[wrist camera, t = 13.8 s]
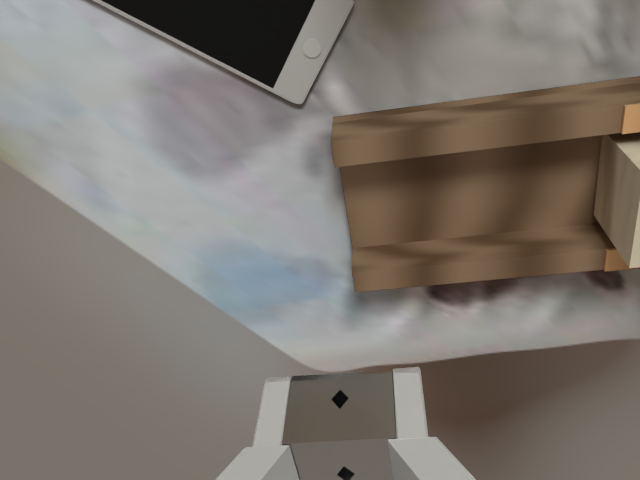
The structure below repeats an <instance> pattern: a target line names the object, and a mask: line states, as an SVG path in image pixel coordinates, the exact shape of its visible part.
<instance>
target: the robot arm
mask: <svg viewBox="0 0 640 480" xmlns="http://www.w3.org/2000/svg"><path fill="white" fill-rule="evenodd" d="M215 480H476V479H475V478H474V477H473V476H472V475H471V474H470V473H469V472H468V471H467V469H466V468H465V467H464V466H463V465H462V464H461V463H460V462H459V461H458V460H457V459H456V458H455V457H454V456H453V454H452V453H451V452H450V451H449V450H448V449H447V448H446V447H445V446H444V445H443V444H442V442H441V441H440V440H439V439H438V438H437V437H428V431H427V422H426V414H425V406H424V397H423V388H422V380H421V371H420V368H419V367H412V368H400V369H393V370H392V369H389V370H375V371H365V372H351V373H342V374H326V375H307V376H306V375H305V376H293V377H273V378H267V380H266V382H265V383H264V387H263V392H262V397H261V403H260V408H259V413H258V418H257V424H256V429H255V435H254V439H253V445H252V447H245V448H244V449H243V450H242V451H241V452H240V453H239V454H238V455H237V456H236V458H235V459H234V460H233V461H232V462H231V463H230V464H229V465H228V466H227V467H226V468H225V470H224V471H223V472H222V473H221V474H220V475H219V476H218V477H217V479H215Z"/></svg>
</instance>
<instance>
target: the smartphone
mask: <svg viewBox="0 0 640 480" xmlns="http://www.w3.org/2000/svg"><path fill="white" fill-rule="evenodd" d="M92 1H94V2H96V3H98V4H100V5H102V6H104V7H106V8H108V9H110V10H112V11H114V12H116V13H118V14H120V15H122V16H124V17H126V18H128V19H129V20H131V21H133V22H135V23H137V24H139V25H141V26H143V27H145V28H147V29H149V30H151V31H153V32H155V33H157V34H159V35H161V36H163V37H165V38H167V39H169V40H171V41H173V42H174V43H176V44H178V45H180V46H182V47H184V48H186V49H188V50H190V51H192V52H194V53H196V54H198V55H200V56H202V57H204V58H206V59H208V60H210V61H212V62H214V63H216V64H218V65H219V66H221V67H223V68H225V69H227V70H229V71H231V72H233V73H235V74H237V75H239V76H241V77H243V78H245V79H247V80H249V81H251V82H253V83H255V84H257V85H259V86H261V87H263V88H264V89H266V90H268V91H270V92H272V93H274V94H276V95H278V96H280V97H282V98H284V99H286V100H288V101H290V102H292V103H295V104H302V103H303V102H304V100H305V98H306V96H307V94H308V92H309V90H310V88H311V86H312V84H313V82H314V80H315V79H316V77H317V75H318V73H319V71H320V69H321V67H322V65H323V63H324V61H325V59H326V57H327V55H328V53H329V51H330V49H331V47H332V46H333V44H334V42H335V40H336V38H337V36H338V34H339V32H340V30H341V28H342V26H343V24H344V22H345V20H346V18H347V16H348V15H349V13H350V11H351V9H352V7H353V5H354V0H92Z"/></svg>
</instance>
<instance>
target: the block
mask: <svg viewBox="0 0 640 480" xmlns="http://www.w3.org/2000/svg"><path fill="white" fill-rule="evenodd" d="M594 216H595V218H596V219H597V221H598V222H599V224H600V225H601V227H602V228H603V230H604V231H605V233H606V234H607V236H608V237H609V239H610V240H611V242H612V243H613V245H614V246H615V248H616V249H617V251H618V252H619V254H620V255H621V257H622V258H623V260H624V261H625V263H626V264H627V266H628V267H629V268H637V267H640V132H637V133H628V134H621V133H615V134H607V135H602V141H601V150H600V160H599V169H598V179H597V188H596V197H595V207H594Z"/></svg>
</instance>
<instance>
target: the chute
mask: <svg viewBox="0 0 640 480" xmlns="http://www.w3.org/2000/svg"><path fill="white" fill-rule="evenodd" d="M637 132H640V76H639V77H631V78H624V79H616V80H609V81H601V82H593V83H586V84H578V85H571V86H563V87H556V88H548V89H541V90H533V91H526V92H518V93H511V94H503V95H496V96H488V97H481V98H473V99H466V100H458V101H450V102H443V103H435V104H428V105H420V106H413V107H405V108H398V109H390V110H383V111H375V112H368V113H360V114H353V115H345V116H338V117H333V127H332V136H331V147H332V153H333V159H334V165H335V167H340V171H341V178H342V184H343V190H344V197H345V203H346V209H347V216H348V222H349V229H350V235H351V241H352V248H353V252H352V276H353V282H354V288H355V292H363V291H374V290H385V289H396V288H407V287H418V286H429V285H440V284H451V283H462V282H473V281H484V280H495V279H506V278H517V277H528V276H539V275H550V274H561V273H572V272H583V271H594V270H604V271H616V270H627V269H638V268H640V267H637V268H629V267H628V266H627V264H626V263H625V261H624V260H623V258H622V257H621V255H620V254H619V252H618V251H617V249H616V248H615V246H614V245H613V243H612V242H611V240H610V239H609V237H608V236H607V234H606V233H605V231H604V230H603V228H602V227H601V225H600V224H599V222H598V221H597V219H596V218H595V216H594V207H595V197H596V188H597V179H598V169H599V160H600V150H601V141H602V135H607V134H615V133H621V134H628V133H637Z"/></svg>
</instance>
